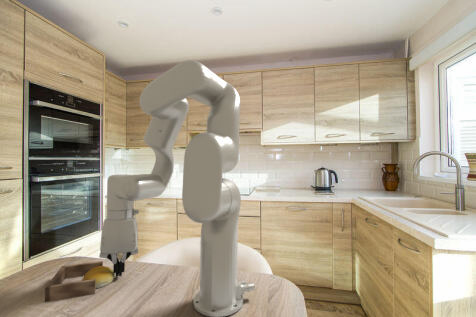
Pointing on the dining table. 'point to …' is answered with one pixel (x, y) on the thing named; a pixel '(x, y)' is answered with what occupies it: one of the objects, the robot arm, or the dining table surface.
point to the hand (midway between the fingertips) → (119, 274)
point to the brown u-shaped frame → (74, 288)
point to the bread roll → (100, 276)
